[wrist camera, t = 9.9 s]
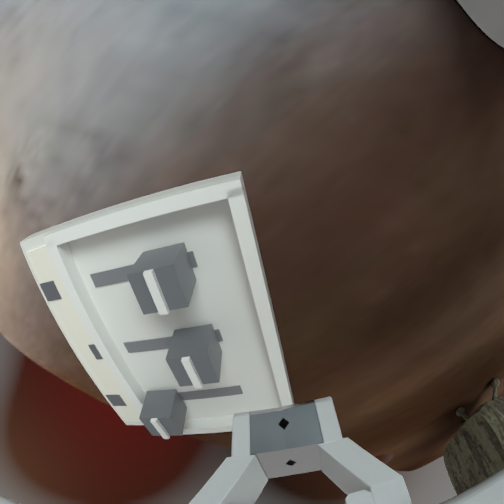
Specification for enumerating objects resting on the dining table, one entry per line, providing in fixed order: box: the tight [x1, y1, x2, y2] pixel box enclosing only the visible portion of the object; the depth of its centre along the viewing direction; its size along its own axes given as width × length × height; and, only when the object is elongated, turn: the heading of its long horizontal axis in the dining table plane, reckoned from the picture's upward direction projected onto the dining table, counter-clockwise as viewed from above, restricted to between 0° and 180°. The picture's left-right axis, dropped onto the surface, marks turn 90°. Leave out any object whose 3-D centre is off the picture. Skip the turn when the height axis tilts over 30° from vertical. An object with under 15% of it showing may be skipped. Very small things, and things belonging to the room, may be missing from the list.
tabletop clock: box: [443, 378, 504, 495], centre depth 24 cm, size 14×9×25 cm, turn 176°
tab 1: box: [127, 242, 196, 315], centre depth 20 cm, size 3×3×4 cm
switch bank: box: [20, 171, 294, 435], centre depth 25 cm, size 24×20×4 cm
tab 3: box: [166, 324, 222, 389], centre depth 22 cm, size 3×3×4 cm
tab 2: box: [139, 389, 187, 439], centre depth 26 cm, size 3×3×4 cm
